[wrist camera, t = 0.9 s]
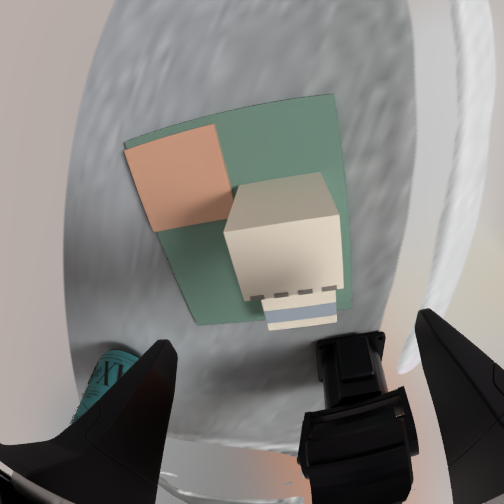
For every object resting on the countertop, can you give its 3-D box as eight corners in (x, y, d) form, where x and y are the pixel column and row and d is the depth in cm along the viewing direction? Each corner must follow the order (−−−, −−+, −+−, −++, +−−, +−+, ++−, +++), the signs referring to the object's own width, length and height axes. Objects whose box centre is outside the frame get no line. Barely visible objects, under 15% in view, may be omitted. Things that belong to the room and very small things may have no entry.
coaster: (238, 214, 19) (237, 216, 19) (155, 229, 20) (153, 232, 20) (214, 123, 16) (213, 124, 16) (126, 149, 17) (123, 150, 17)
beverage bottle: (170, 364, 29) (123, 538, 13) (140, 379, 32) (95, 524, 15) (121, 329, 27) (48, 510, 10) (97, 349, 30) (35, 497, 13)
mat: (350, 305, 23) (351, 308, 23) (198, 322, 25) (197, 325, 25) (332, 93, 15) (333, 93, 14) (127, 140, 17) (124, 142, 17)
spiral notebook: (333, 302, 22) (337, 322, 20) (270, 310, 23) (269, 331, 21) (327, 235, 19) (333, 253, 17) (254, 245, 20) (251, 265, 18)
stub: (327, 229, 19) (343, 289, 14) (252, 240, 20) (244, 302, 15) (320, 172, 17) (339, 215, 12) (239, 185, 18) (223, 232, 13)
